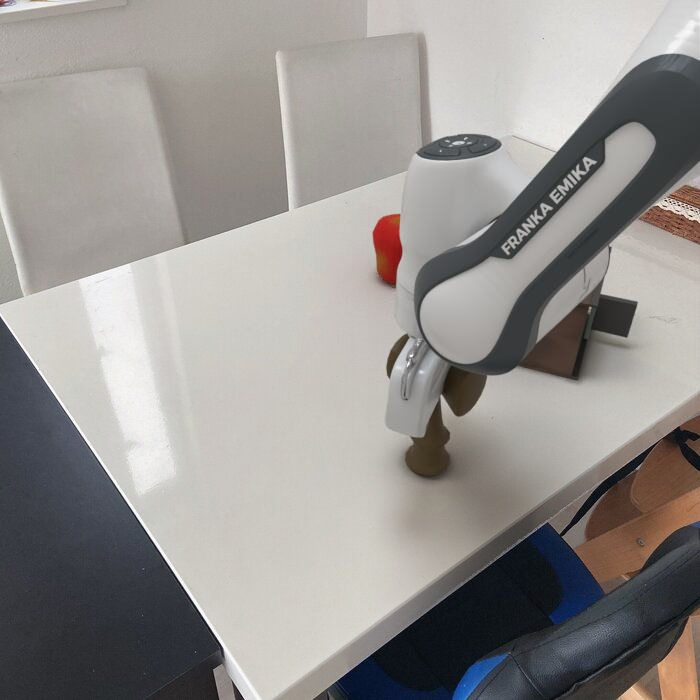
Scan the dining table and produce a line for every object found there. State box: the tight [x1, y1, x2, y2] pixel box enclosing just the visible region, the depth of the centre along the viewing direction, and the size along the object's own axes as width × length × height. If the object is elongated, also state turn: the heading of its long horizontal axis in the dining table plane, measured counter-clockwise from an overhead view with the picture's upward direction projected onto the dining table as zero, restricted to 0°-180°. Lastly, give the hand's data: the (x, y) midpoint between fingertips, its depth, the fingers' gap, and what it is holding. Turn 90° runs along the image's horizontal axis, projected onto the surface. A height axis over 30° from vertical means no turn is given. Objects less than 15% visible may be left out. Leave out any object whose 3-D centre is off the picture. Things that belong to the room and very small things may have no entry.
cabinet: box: [517, 246, 613, 381], centre depth 95 cm, size 13×16×12 cm
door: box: [584, 293, 639, 340], centre depth 96 cm, size 6×8×11 cm, turn 157°
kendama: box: [385, 332, 488, 477], centre depth 73 cm, size 6×10×20 cm, turn 50°
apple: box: [372, 213, 403, 286], centre depth 108 cm, size 9×8×12 cm
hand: (429, 408), depth 74 cm, fingers open, 6 cm apart
